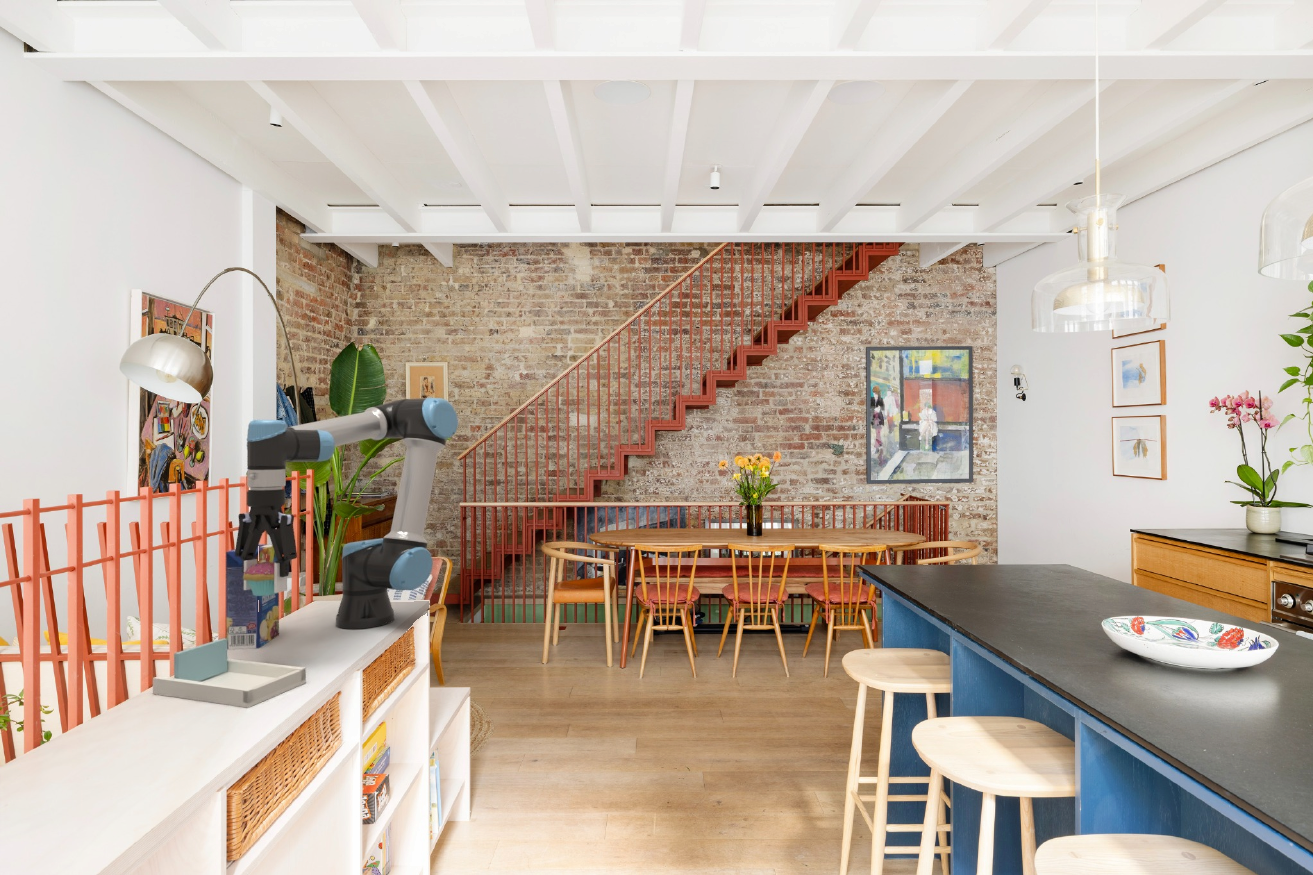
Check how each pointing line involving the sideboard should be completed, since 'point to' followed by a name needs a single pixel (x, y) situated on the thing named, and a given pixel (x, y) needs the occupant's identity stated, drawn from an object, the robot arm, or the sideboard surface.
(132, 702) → the sideboard surface
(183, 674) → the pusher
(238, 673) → the white shallow tray
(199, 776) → the sideboard surface
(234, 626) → the juice carton
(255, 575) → the cupcake
